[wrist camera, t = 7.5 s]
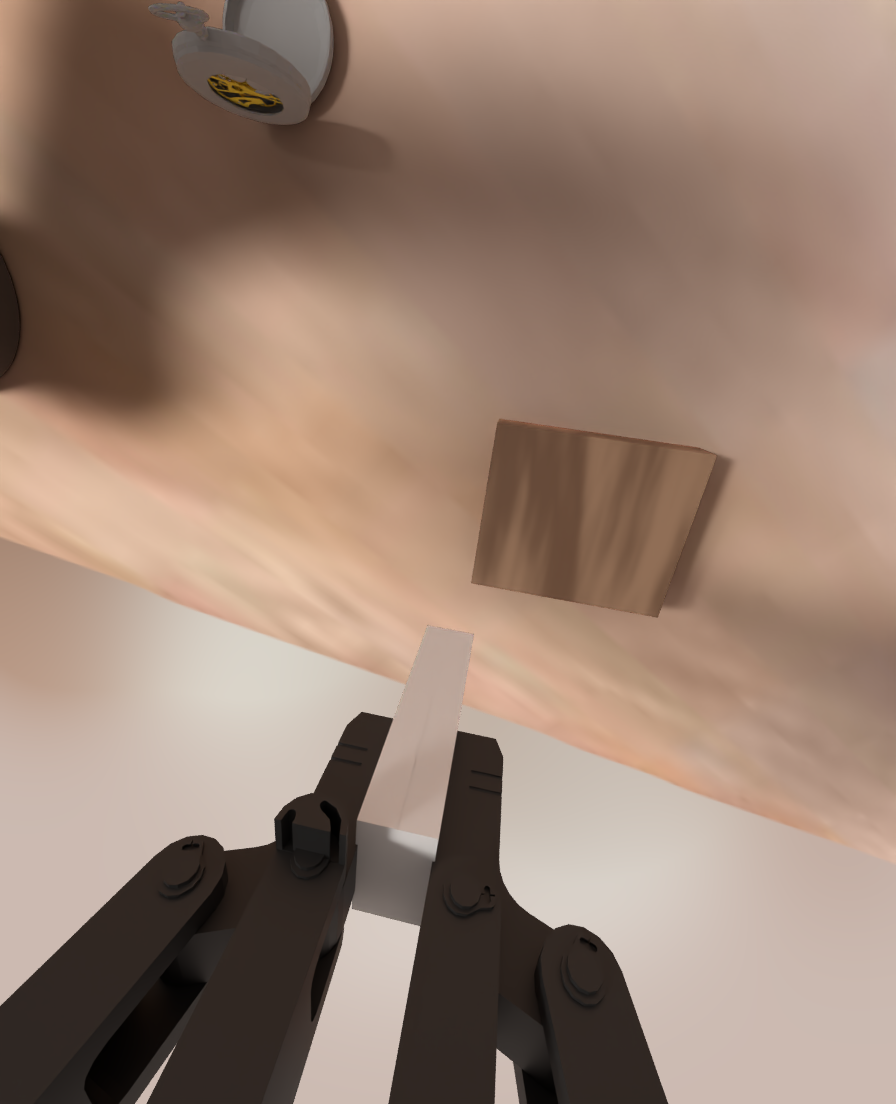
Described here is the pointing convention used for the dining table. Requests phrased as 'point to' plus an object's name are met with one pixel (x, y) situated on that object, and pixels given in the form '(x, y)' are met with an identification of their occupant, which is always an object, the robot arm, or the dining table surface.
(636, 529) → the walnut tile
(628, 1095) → the robot arm
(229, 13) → the pocket watch
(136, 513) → the dining table surface
